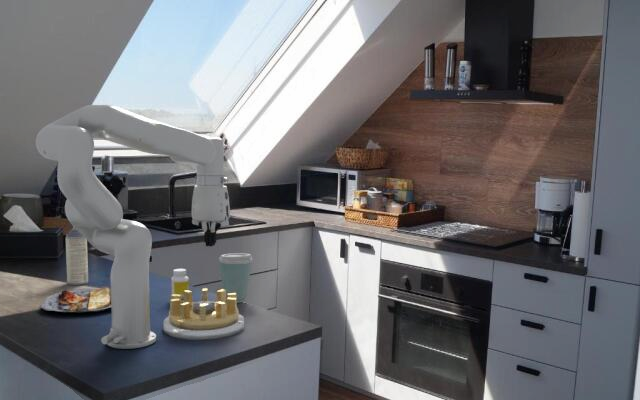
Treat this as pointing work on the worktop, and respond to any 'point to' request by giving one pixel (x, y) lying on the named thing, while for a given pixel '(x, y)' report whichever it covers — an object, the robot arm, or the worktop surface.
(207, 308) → the bladed impeller wheel
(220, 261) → the disposable coffee cup
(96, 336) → the worktop surface
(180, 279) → the supplement bottle
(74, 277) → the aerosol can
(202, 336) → the light grey round disc
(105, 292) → the food plate
